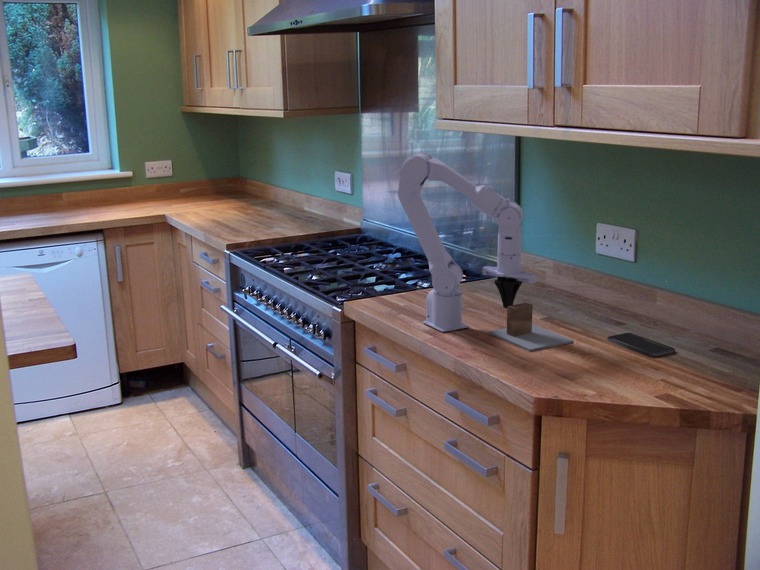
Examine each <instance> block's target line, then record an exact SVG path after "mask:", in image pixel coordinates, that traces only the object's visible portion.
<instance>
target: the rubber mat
mask: <svg viewBox="0 0 760 570" xmlns="http://www.w3.org/2000/svg"><path fill="white" fill-rule="evenodd" d="M487 333H488V334H489V335H492V336H494V337H496V338H499V339H500V340H503V341H504V342H508V343H509V344H512V345H514V346H516V347H518V348H521V349H523V350H525V351H527V352H534V351H535V352H536V351H539V350H544V349H549V348H552V347H558V346H562V345H566V344H567V345H568V344H573V343H574V340H573V339H571V338H569V337H566V336H563V335H560V334H558V333H556V332H553V331H550V330H549V329H547V328H543V327H541V326H538V325H535V324H533V323H532V332H531V333H527V334H523V335H519V336H515V337H513V336H510V335H507V327H505V328H498V329H493V330H489V331H488V332H487Z"/></svg>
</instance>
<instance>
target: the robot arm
mask: <svg viewBox="0 0 760 570" xmlns="http://www.w3.org/2000/svg"><path fill="white" fill-rule="evenodd" d="M398 175H399V180H398V181H399V182H398V190H397V197H398V200H399V202H400V204H401V207H402V209H403V210H404V212H405V215H406V217H407V219H408V221H409V223H410V225H411V227H412V229H413V231H414V234H415V235H416V236H415V237H417V240H418V243H419V244H420V246H421V249H422V250H423V252H424V254H425V256H426V259H427V261H428V267H429V268H428V269H429V273H430V274H431V284H432V285H431V286H432V287H433V289H431V290H430V291H429V292H428V293H427V295H426V298H425V299H426V300H425V320H423V324H425V325H426V326H429V327H430V328H432V329H435V330H437V331H439V332H441V333H445V332H451V331H456V330H462V329H468V328H469V327H470V325H468V324H466V323H464V322H462V321H463V318H462V317H463V315H462V314H463V308H462V307H463V290H462V288H461V287H460V285H459V284H461V282H462V281H463V276H464V273H463V270H462V268H461V266H459V264H457V263H456V262H455V261H454V259H453V258H452V255H451V254H450V253H449V252H448V251H447V249H446V247H445V246H444V243H443V242H442V239H441V237H440V236H439V232H438V231H437V228H436V226H435V224H434V222H433V221H432V218H431V215H430V213H429V212H428V209H427V207H426V205H425V203H424V201H423V198H422V196H421V192H422V190H423V187H424V185H425V182H426V181H429V182H432V181H433V182H443V183H444V184H446V185H448V186H449V187H451V188H452V189H454V190H456V191H458V192H459V193H461V194H463V195H464V196H466V197H468V198H469V202H470V205H471V207H474V209H477V210H478V211H479V212H481V213H482V214H484V215H486V216H487V217H489V218H491V220H496V223H497V225H498V233H497V251H496V252H497V254H496V255H497V256H496V257H497V258H496V259H497V261H496V262H497V263H496V264H497V265H496V266H489V265H486V266H483V267H482V276H491V277H497V278H496V279H494V284H495V286H496V288H497V290H498V292H499V295H500V299H501V301H502V307H503V308H504V309H507V306H512V305H514V301H515V299H516V296H517V293H518V291H519V289H520V287H521V286H522V284H523V283H527V284H528V285H529V284H530V285H532V284H536V283H537V275H536V274H533V273H530V272H528V271H524V270H522V241H523V240H522V239H523V238H522V237H523V236H522V229H523V228H522V220H523V218H524V211H523V209H522V207H521V206H520V205H519V204H518V203H517V202H515V201H511V198H508V197H506V198H505V197H504V196H502V195H501V194H499V193H497V192H496V191H495V190H494V189H495V188H494V187H493V186H491V185H489V186H486V185H485V184H482V185H476V184H474V183H473V182H471V181H470V180H468V179H467V178H466V177H465V176H463V175H462V174H460V173H459V172H457V171H456V170H454V168H452V167H450V166H449V165H447V164H446V163H444V162H443V161H442V160H440V159H438V158H436V157H433V156H431V155H430V154H428V153H427V152H423V151H420V152H417V153H415V154H414V155H410V156H408V157H407V158H406V159H405V160H404V161H403V163H402V165H401V167H400V168H399V170H398Z"/></svg>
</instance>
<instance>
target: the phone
mask: <svg viewBox="0 0 760 570" xmlns="http://www.w3.org/2000/svg"><path fill="white" fill-rule="evenodd" d="M606 341H608V342H609V343H612V344H613V345H614V344H615V345H617V346H619V347H622V348H625V349H627V350H629V351H633V352H635V353H638V354H640V355H642V356H645V357H648V358H651V359H654V358H655V359H656V358H660V357H664V356H665V357H666V356H669V355H673V354H676V348H674V347H672V346H670V345H666V344H664V343H661V342H658V341H655V340H654V339H653V340H652V339H650V338H647V337H643V336H642V335H638V334H637V333H632V332H625V333H620V334H614V335H610V336H609V335H608V336H607V340H606Z"/></svg>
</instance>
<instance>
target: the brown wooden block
mask: <svg viewBox="0 0 760 570" xmlns="http://www.w3.org/2000/svg"><path fill="white" fill-rule="evenodd" d="M533 306H534V304H532V303H529V302H526V301H525V302H522V303H517V304H513V305H512V306H507V308H506V328H507V335H510V336H513V337H515V336H519V335H523V334H527V333H531V332H532V324H533V308H534V307H533Z"/></svg>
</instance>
